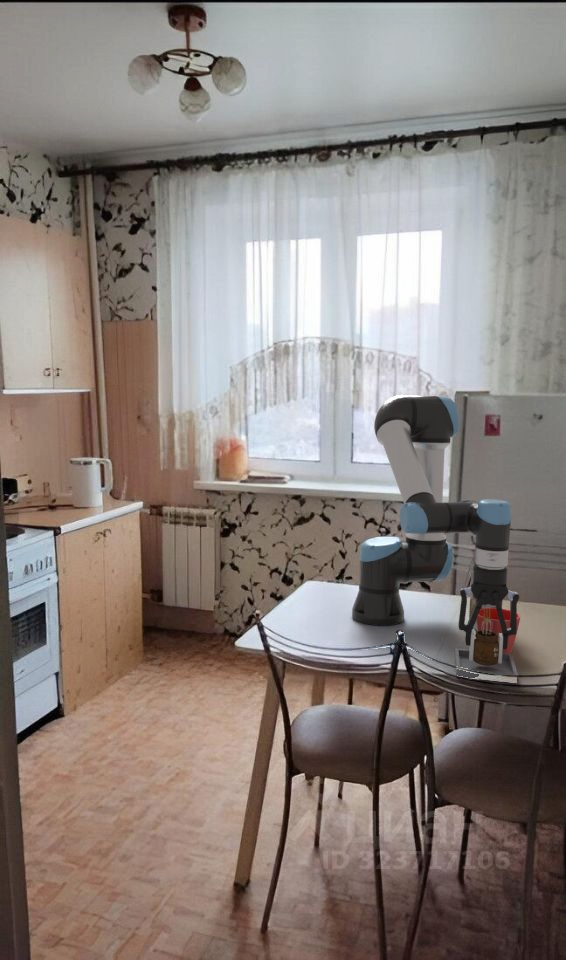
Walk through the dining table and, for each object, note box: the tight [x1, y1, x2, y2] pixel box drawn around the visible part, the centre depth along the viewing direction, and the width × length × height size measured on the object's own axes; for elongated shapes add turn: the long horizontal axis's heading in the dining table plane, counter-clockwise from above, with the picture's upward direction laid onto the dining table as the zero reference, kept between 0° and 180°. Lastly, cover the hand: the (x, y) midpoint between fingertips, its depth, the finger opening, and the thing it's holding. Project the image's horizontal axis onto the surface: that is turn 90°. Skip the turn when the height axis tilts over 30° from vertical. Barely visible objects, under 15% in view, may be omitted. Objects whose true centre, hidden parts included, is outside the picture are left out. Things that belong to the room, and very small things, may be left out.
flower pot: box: [477, 608, 521, 654], centre depth 179 cm, size 11×11×10 cm
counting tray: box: [454, 647, 519, 678], centre depth 167 cm, size 14×14×2 cm
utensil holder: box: [473, 609, 499, 666], centre depth 166 cm, size 6×6×12 cm
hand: (485, 659), depth 167 cm, fingers closed on utensil holder, 6 cm apart
